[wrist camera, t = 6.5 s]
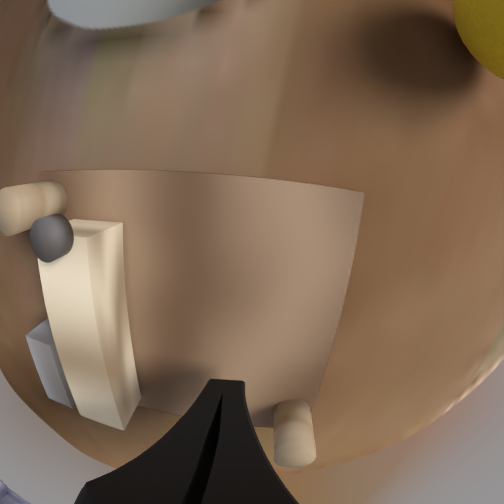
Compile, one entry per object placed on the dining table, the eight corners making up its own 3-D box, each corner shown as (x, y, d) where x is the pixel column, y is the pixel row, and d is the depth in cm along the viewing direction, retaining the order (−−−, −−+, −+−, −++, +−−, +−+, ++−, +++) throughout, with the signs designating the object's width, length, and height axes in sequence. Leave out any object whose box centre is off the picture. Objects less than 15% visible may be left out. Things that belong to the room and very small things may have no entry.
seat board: (75, 372, 14) (43, 412, 10) (48, 171, 11) (-11, 178, 7) (303, 416, 14) (309, 473, 10) (356, 190, 10) (400, 202, 7)
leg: (73, 202, 10) (18, 216, 7) (122, 204, 10) (70, 219, 7) (100, 385, 13) (73, 425, 9) (141, 397, 13) (118, 442, 9)
